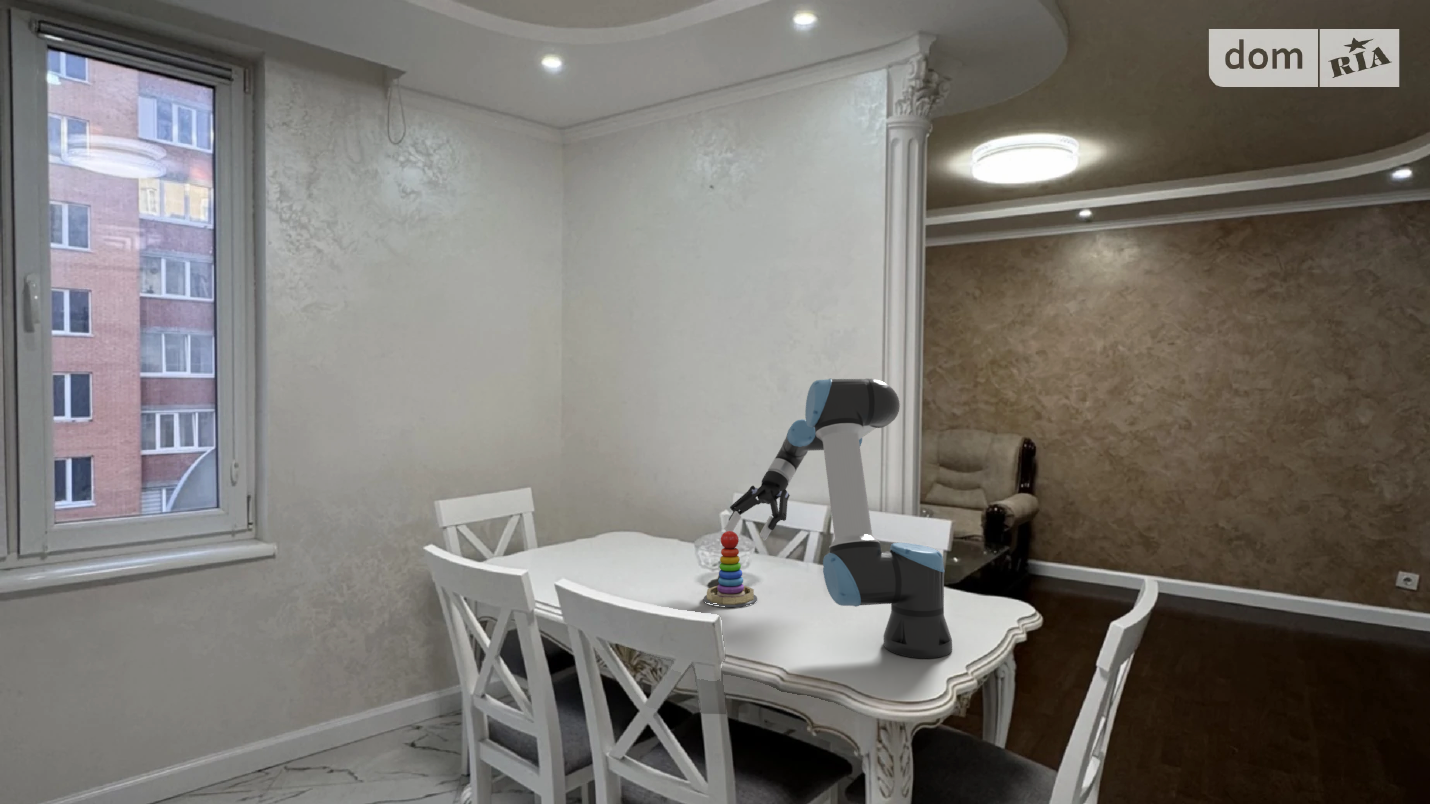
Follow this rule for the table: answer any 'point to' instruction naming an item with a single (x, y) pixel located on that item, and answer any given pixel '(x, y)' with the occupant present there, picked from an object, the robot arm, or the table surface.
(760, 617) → the table surface
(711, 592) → the collar plate
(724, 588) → the stacking toy
